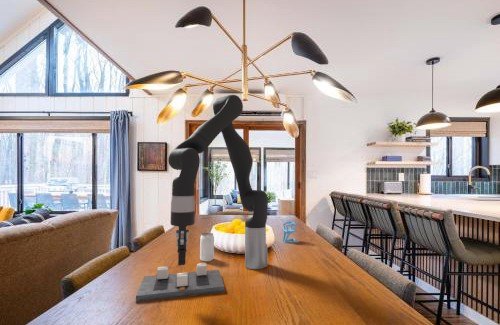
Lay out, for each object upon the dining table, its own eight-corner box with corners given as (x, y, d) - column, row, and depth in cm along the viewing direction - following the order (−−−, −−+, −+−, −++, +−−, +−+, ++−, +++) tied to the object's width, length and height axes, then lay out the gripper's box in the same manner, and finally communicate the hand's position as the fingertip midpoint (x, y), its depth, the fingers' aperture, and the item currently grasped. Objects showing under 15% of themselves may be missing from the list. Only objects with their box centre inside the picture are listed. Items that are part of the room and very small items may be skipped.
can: (211, 262, 117) (211, 235, 118) (197, 261, 118) (198, 235, 119) (215, 257, 124) (215, 232, 124) (203, 257, 125) (203, 232, 125)
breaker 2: (206, 272, 98) (206, 262, 99) (206, 274, 96) (206, 264, 96) (196, 273, 98) (196, 262, 98) (196, 275, 95) (196, 265, 95)
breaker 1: (168, 275, 95) (168, 265, 95) (167, 278, 93) (167, 267, 93) (157, 276, 94) (158, 266, 94) (157, 279, 92) (157, 268, 92)
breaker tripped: (187, 282, 89) (187, 271, 89) (187, 285, 87) (187, 273, 87) (176, 283, 88) (177, 272, 88) (176, 286, 86) (176, 274, 86)
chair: (280, 240, 156) (280, 220, 157) (293, 239, 158) (293, 220, 159) (285, 243, 149) (285, 223, 150) (298, 242, 151) (298, 222, 152)
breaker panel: (218, 274, 102) (218, 269, 102) (224, 292, 87) (224, 285, 87) (143, 281, 96) (144, 275, 96) (135, 302, 80) (135, 295, 80)
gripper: (195, 212, 77) (194, 270, 76) (194, 207, 90) (193, 257, 89) (169, 212, 75) (168, 272, 74) (171, 207, 88) (170, 258, 87)
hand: (181, 264), depth 82 cm, fingers closed
